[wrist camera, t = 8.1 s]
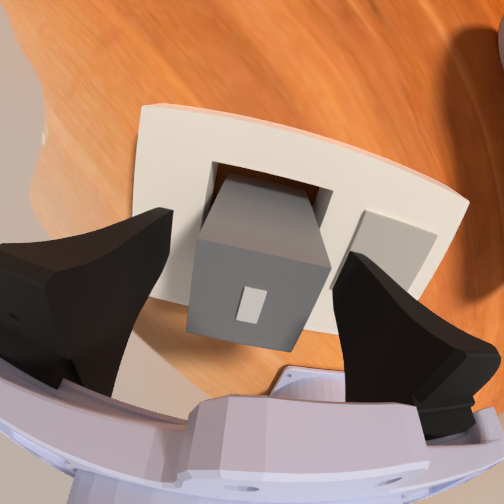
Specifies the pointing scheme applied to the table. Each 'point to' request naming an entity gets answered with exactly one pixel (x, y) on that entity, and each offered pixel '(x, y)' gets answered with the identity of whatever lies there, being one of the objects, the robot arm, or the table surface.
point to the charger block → (257, 265)
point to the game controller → (501, 41)
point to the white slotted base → (301, 169)
